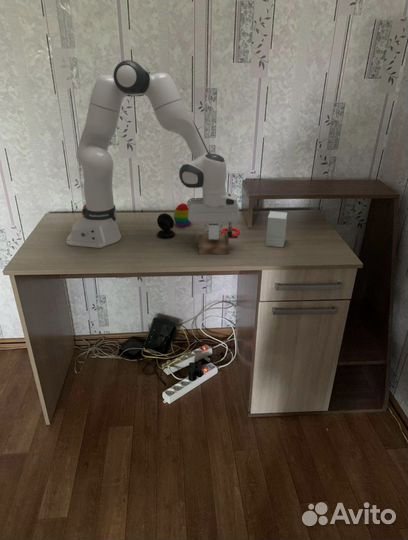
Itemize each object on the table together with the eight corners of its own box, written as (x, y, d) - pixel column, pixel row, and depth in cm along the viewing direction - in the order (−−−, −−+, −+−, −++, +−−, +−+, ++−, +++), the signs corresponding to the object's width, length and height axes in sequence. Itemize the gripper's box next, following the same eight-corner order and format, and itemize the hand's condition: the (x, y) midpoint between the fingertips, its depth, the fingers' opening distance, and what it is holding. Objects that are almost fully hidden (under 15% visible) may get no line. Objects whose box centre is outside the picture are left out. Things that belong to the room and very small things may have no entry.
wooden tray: (198, 254, 160) (198, 243, 158) (198, 241, 170) (198, 231, 168) (228, 254, 160) (229, 243, 158) (227, 241, 170) (227, 231, 168)
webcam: (153, 236, 174) (152, 215, 169) (162, 230, 180) (161, 209, 175) (169, 240, 171) (168, 218, 166) (178, 233, 177) (177, 212, 172)
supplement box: (285, 240, 171) (288, 212, 165) (283, 247, 165) (286, 218, 159) (267, 238, 173) (270, 210, 167) (265, 245, 167) (267, 217, 160)
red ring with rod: (222, 229, 182) (219, 237, 174) (223, 201, 176) (220, 208, 168) (240, 230, 181) (239, 238, 173) (242, 202, 175) (240, 209, 167)
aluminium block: (208, 239, 160) (208, 225, 157) (208, 233, 165) (208, 219, 162) (218, 239, 160) (219, 225, 157) (218, 233, 165) (218, 219, 162)
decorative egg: (188, 228, 181) (188, 207, 176) (171, 226, 183) (170, 205, 178) (194, 222, 188) (194, 201, 183) (177, 220, 190) (177, 199, 185)
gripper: (186, 200, 152) (187, 234, 159) (241, 200, 152) (239, 234, 159) (187, 195, 157) (187, 228, 164) (239, 195, 158) (238, 227, 165)
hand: (213, 231), depth 162 cm, fingers closed on aluminium block, 4 cm apart
